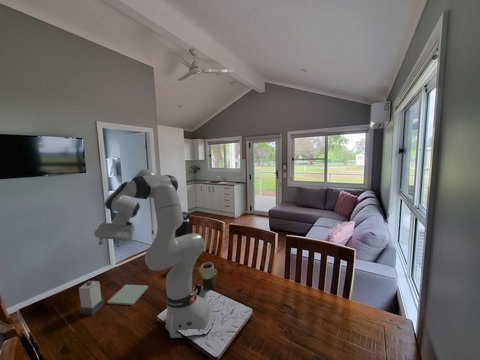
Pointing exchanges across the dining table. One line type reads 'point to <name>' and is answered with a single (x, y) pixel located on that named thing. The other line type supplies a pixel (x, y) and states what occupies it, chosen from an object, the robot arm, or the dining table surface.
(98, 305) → the post
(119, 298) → the pad
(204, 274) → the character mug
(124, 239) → the robot arm
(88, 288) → the white upright box
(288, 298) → the dining table surface
